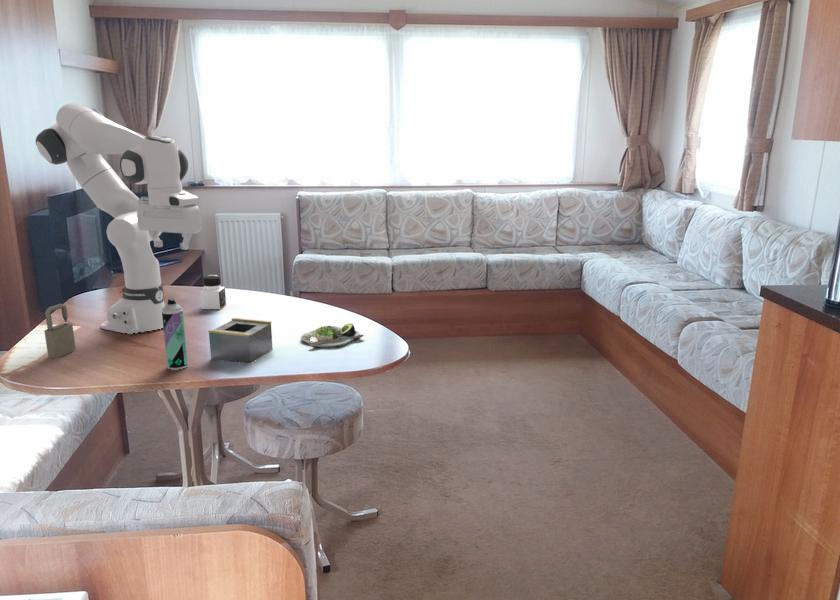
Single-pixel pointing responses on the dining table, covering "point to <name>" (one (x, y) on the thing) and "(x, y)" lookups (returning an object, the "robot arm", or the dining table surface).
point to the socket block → (241, 340)
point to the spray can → (174, 335)
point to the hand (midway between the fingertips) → (171, 248)
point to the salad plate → (332, 336)
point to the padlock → (59, 334)
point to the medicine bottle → (212, 293)
